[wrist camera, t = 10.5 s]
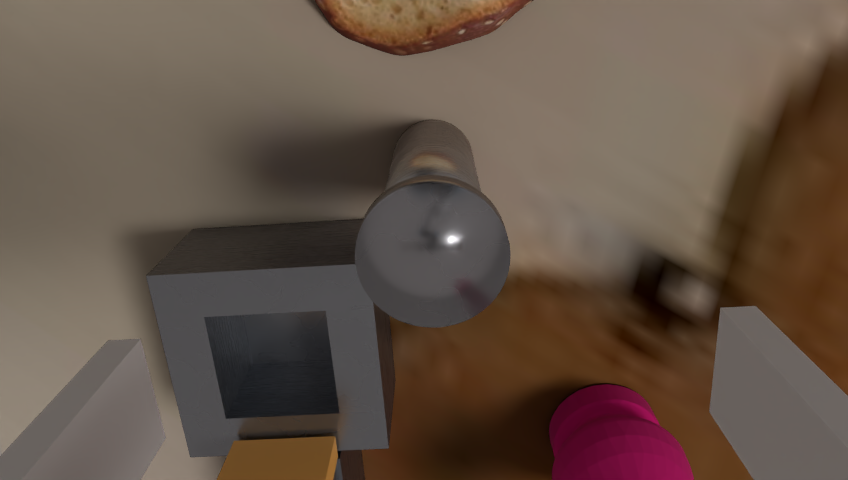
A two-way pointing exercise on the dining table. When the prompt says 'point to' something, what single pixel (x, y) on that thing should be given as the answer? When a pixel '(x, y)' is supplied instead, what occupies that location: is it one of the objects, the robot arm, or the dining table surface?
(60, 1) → the dining table surface
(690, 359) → the dining table surface
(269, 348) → the dock
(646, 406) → the pepper mill
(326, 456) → the lock pin
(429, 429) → the dining table surface
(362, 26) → the bread slice
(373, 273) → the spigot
